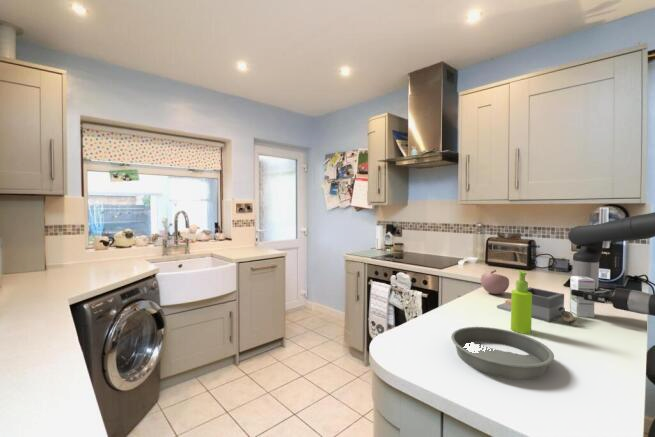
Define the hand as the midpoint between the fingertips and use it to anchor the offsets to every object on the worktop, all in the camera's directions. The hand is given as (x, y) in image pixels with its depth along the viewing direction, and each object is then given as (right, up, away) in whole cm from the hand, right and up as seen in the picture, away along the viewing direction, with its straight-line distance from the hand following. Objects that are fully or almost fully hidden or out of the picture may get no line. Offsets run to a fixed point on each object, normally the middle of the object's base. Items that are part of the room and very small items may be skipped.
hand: (576, 290), depth 122 cm
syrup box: (+1, -9, -1) cm, 9 cm away
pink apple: (-17, -8, +28) cm, 34 cm away
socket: (-17, -9, +2) cm, 20 cm away
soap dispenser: (-32, -10, -16) cm, 37 cm away
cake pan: (-50, -11, -36) cm, 63 cm away
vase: (-12, -10, -11) cm, 19 cm away
